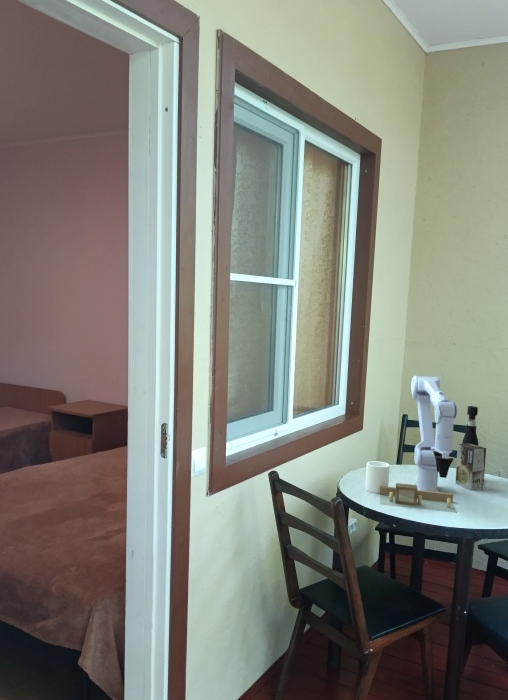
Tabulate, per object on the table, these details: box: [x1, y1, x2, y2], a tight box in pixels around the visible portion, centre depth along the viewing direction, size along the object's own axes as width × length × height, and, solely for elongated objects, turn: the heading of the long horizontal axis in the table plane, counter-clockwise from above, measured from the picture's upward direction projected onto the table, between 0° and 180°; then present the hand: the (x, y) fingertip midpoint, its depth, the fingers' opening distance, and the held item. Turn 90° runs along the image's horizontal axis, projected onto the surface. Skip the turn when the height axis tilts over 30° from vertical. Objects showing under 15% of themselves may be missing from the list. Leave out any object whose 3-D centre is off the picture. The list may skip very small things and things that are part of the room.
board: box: [379, 486, 457, 514], centre depth 195 cm, size 12×25×4 cm, turn 78°
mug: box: [364, 460, 390, 494], centre depth 209 cm, size 12×8×10 cm
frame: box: [395, 482, 418, 506], centre depth 194 cm, size 4×7×6 cm, turn 78°
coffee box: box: [455, 443, 487, 491], centre depth 219 cm, size 9×6×16 cm
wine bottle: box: [461, 405, 480, 446], centre depth 228 cm, size 6×6×30 cm
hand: (441, 474), depth 196 cm, fingers open, 7 cm apart
